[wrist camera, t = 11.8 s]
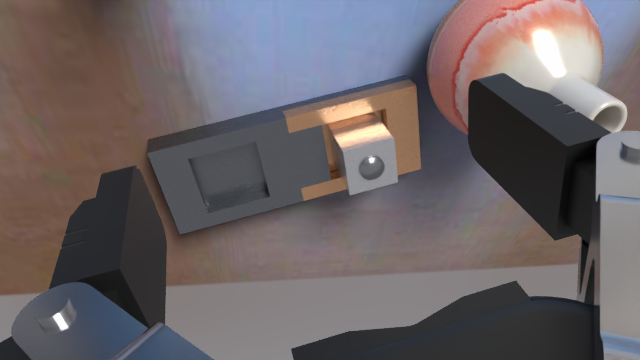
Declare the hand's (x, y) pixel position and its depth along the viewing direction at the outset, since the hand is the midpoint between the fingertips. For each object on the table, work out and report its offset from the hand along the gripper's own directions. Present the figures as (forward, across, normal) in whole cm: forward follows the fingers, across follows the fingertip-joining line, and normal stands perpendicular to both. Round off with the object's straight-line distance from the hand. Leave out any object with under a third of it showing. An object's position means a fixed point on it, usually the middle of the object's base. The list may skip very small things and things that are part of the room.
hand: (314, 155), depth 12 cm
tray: (+32, -2, +18) cm, 37 cm away
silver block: (+31, -8, +18) cm, 37 cm away
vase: (+32, -21, +12) cm, 40 cm away
